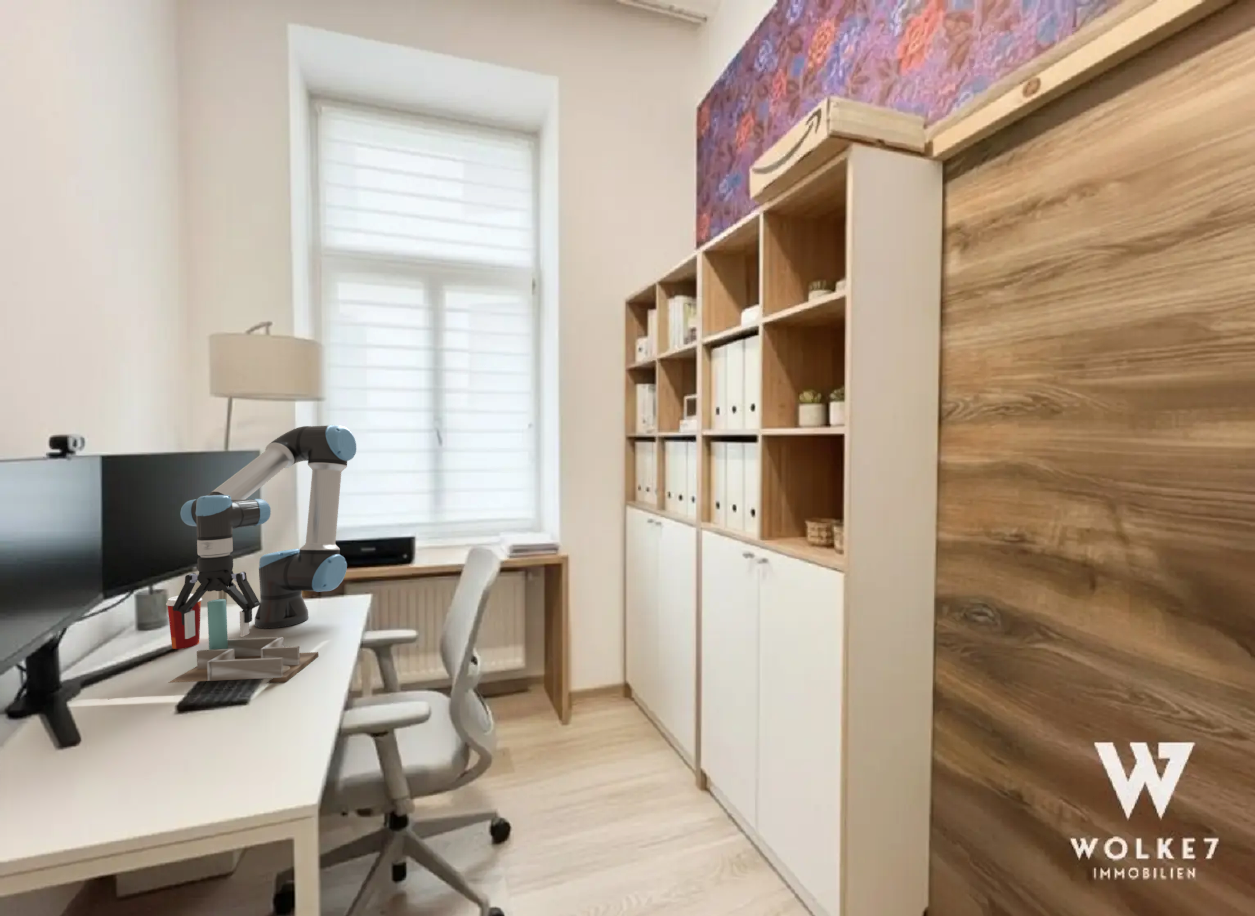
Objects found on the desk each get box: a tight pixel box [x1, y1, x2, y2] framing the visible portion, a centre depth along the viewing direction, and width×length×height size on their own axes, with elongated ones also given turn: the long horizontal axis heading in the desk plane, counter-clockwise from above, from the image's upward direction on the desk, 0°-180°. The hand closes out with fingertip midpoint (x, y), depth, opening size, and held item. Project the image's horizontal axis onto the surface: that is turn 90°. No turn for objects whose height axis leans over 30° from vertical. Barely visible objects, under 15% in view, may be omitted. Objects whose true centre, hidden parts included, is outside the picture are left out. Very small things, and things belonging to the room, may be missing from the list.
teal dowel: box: [206, 598, 229, 650], centre depth 150 cm, size 4×4×16 cm
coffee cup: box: [165, 593, 203, 650], centre depth 164 cm, size 8×8×15 cm
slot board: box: [168, 636, 319, 684], centre depth 147 cm, size 17×27×6 cm, turn 94°
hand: (217, 636), depth 150 cm, fingers open, 13 cm apart
